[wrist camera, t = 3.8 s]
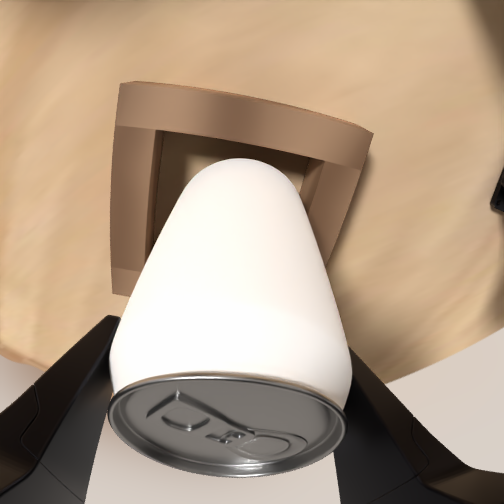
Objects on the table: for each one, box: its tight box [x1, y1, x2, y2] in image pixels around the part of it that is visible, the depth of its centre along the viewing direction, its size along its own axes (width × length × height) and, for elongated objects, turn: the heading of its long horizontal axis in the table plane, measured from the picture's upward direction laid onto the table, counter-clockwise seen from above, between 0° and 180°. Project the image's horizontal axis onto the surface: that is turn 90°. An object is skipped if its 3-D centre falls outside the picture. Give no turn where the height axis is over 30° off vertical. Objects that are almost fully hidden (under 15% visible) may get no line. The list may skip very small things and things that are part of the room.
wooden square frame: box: [110, 81, 374, 297], centre depth 17 cm, size 12×12×2 cm
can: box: [107, 158, 352, 478], centre depth 12 cm, size 6×6×12 cm
